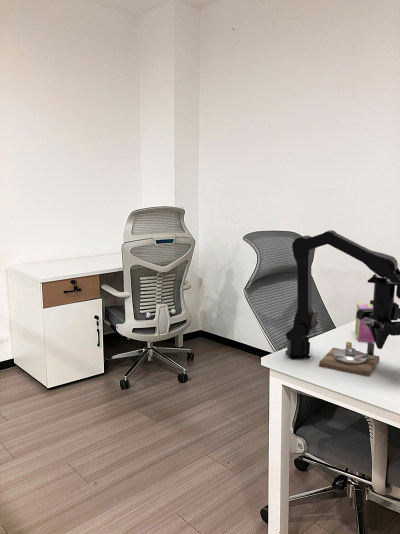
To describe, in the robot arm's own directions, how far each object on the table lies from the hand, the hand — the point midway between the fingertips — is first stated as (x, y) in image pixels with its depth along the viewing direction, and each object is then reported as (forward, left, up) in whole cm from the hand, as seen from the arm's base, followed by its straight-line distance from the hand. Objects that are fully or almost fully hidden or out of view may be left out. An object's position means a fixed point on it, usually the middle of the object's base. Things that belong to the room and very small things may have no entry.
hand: (379, 348), depth 142 cm
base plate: (-6, +7, -7) cm, 12 cm away
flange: (-5, +7, -6) cm, 10 cm away
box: (+11, +30, -7) cm, 33 cm away
